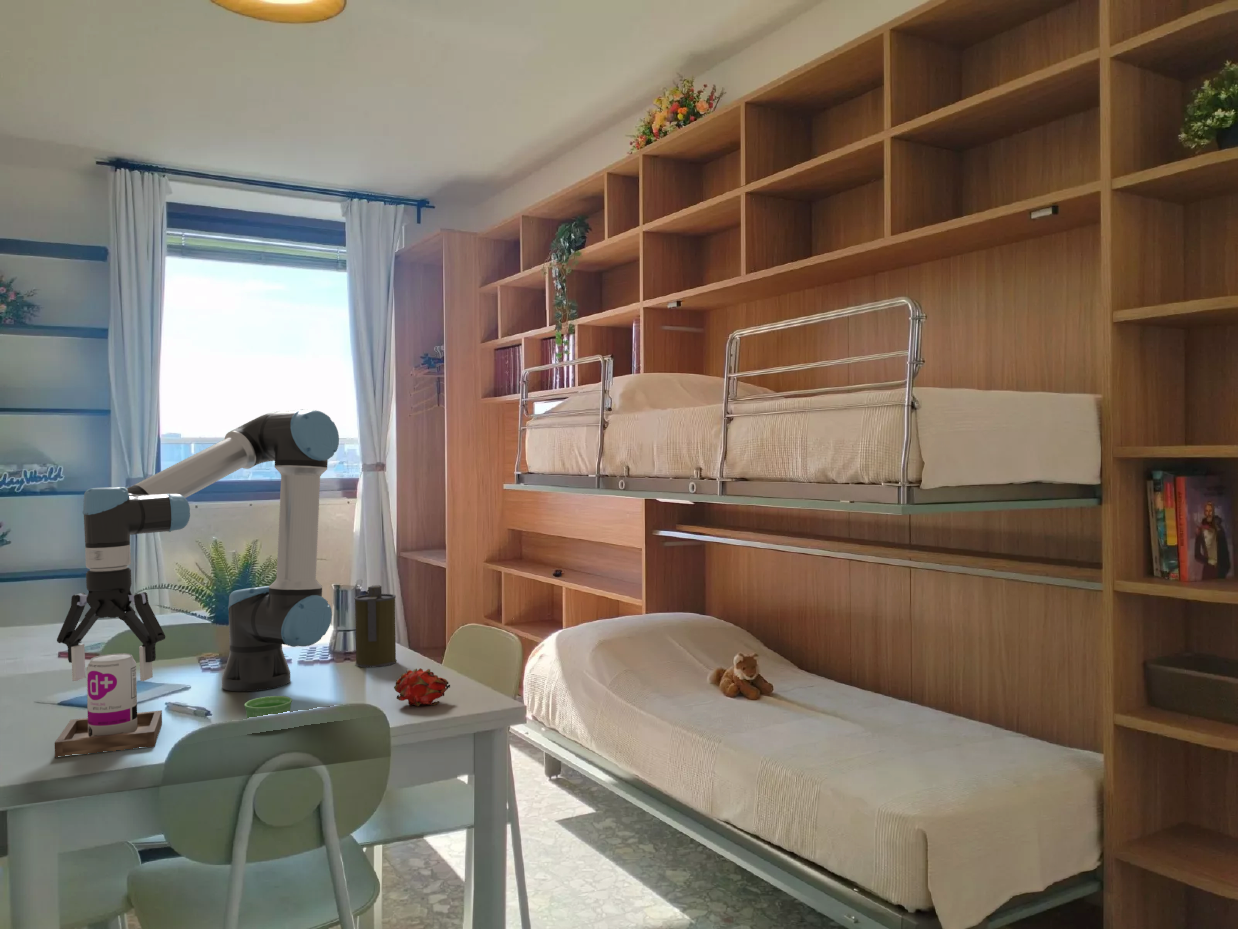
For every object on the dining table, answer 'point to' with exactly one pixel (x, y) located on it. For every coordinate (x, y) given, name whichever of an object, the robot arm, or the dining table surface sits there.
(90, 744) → the walnut tray
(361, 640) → the canister
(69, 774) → the dining table surface
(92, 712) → the supplement can
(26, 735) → the dining table surface
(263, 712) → the ramekin
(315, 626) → the robot arm
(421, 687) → the dragon fruit
